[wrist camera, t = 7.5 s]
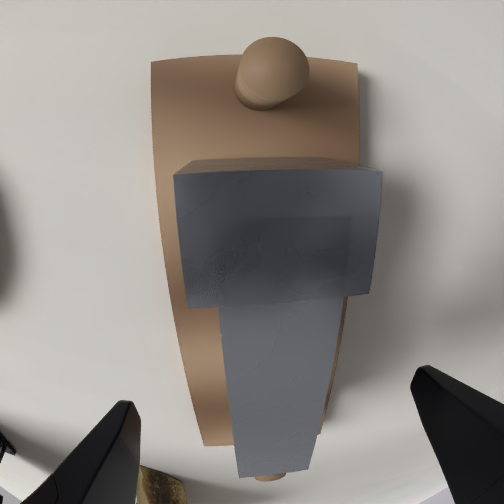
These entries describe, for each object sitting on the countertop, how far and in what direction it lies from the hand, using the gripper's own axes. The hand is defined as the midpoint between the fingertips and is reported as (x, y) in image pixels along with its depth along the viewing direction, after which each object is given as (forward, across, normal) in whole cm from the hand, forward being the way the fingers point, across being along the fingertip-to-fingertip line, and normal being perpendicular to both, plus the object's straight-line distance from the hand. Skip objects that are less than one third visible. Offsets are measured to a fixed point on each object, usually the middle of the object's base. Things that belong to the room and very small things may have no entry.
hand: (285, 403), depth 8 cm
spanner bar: (+4, 0, 0) cm, 4 cm away
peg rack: (+5, 0, 0) cm, 5 cm away
